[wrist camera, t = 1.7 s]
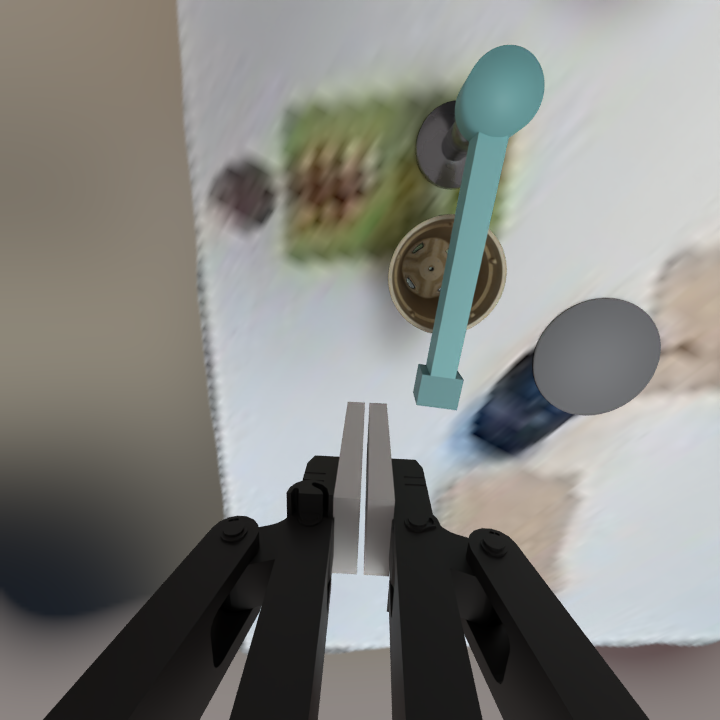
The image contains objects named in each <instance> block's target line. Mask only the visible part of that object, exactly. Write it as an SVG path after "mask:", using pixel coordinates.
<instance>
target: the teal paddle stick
mask: <svg viewBox="0 0 720 720" xmlns="http://www.w3.org/2000/svg"><path fill="white" fill-rule="evenodd" d="M543 94H544V75H543V71H542V68H541V66H540V63H539V62H538V60H537V59H536V57H535V56H534V55H533V54H532V53H531V52H530V51H528V50H526V49H525V48H523V47H520V46H516V45H503V46H499V47H497V48H494V49H492V50H491V51H489V52H487V53H486V54H485V55H484V56H483V57H481V58H480V59H479V61H478V62H477V63H476V65H475V66H474V68H473V69H472V71H471V73H470V74H469V76H468V78H467V79H466V81H465V83H464V84H463V86H462V88H461V90H460V92H459V94H458V96H457V99H456V104H455V120H456V124H457V127H458V129H459V131H460V133H461V134H462V136H463V137H464V138H465V139H466V140H467V141H469V146H468V151H467V156H466V161H465V167H464V172H463V177H462V182H461V187H460V192H459V198H458V203H457V208H456V213H455V218H454V223H453V229H452V234H451V239H450V244H449V249H448V254H447V260H446V265H445V270H444V275H443V280H442V285H441V291H440V296H439V301H438V306H437V311H436V317H435V322H434V327H433V332H432V337H431V342H430V348H429V353H428V358H427V363H426V365H422V364H418V369H417V375H416V380H415V385H414V391H413V393H414V397H415V401H416V405H421V406H429V407H436V408H444V409H451V410H457V407H458V402H459V398H460V394H461V389H462V385H463V381H464V380H463V378H462V377H461V375H460V374H459V372H458V371H457V369H458V365H459V360H460V356H461V351H462V347H463V342H464V338H465V333H466V329H467V324H468V320H469V315H470V310H471V306H472V301H473V297H474V292H475V288H476V283H477V279H478V274H479V270H480V265H481V261H482V256H483V252H484V247H485V243H486V238H487V234H488V229H489V224H490V220H491V215H492V211H493V206H494V202H495V197H496V193H497V188H498V184H499V179H500V175H501V170H502V166H503V161H504V157H505V152H506V148H507V143H508V139H509V137H511V136H512V135H514V134H515V133H516V132H518V131H519V130H520V129H522V128H523V127H524V126H526V125H527V124H528V123H529V122H530V121H531V120H532V118H533V117H534V116H535V114H536V113H537V111H538V109H539V107H540V105H541V102H542V99H543Z"/></svg>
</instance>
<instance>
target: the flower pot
mask: <svg viewBox="0 0 720 720" xmlns="http://www.w3.org/2000/svg"><path fill="white" fill-rule="evenodd" d="M454 218H455V214H447V215H439V216H436V217H433V218H430V219H428V220H425V221H423V222H422V223H420V224H418V225H417V226H415V227H414V228H413V229H411V230H410V231H409V232H408V233H407V234H406V235H405V236H404V237H403V239H402V240H401V241H400V243H399V244H398V246H397V247H396V249H395V251H394V253H393V256H392V259H391V262H390V266H389V273H388V285H389V291H390V295H391V298H392V300H393V302H394V304H395V306H396V308H397V310H398V311H399V312H400V314H401V315H402V316H403V317H404V318H405V319H406V320H407V321H408V322H409V323H411V324H412V325H413V326H415V327H417V328H419V329H421V330H423V331H425V332H429V333H432V332H433V327H434V322H435V317H436V311H437V306H438V301H439V296H440V291H438V289H440V288H441V285H442V280H443V275H444V270H445V265H446V260H447V252H446V251H447V250H448V249H449V244H450V239H451V234H452V229H453V223H454ZM421 243H423V244H424V247H423V248H422V249H419V250H418V251H417V252H416V253H413V251H414V249H415V248H416V247H417V246H418V245H420V244H421ZM430 267H433V268H434V269H433V271H430V270H429V268H430ZM506 274H507V267H506V259H505V254H504V252H503V248H502V246H501V244H500V242H499V241H498V239H497V238H496V236H495V235H494V234H493V232H492V231H491V230H490V229H488V234H487V238H486V243H485V247H484V252H483V256H482V261H481V265H480V270H479V274H478V279H477V283H476V288H475V292H474V297H473V301H472V306H471V310H470V315H469V320H468V324H467V329H470V328H472V327H474V326H475V325H477V324H479V323H480V322H481V321H482V320H483V319H484V318H486V317H487V316H488V315H489V314H490V313H491V311H492V310H493V309H494V307H495V306H496V305H497V303H498V301H499V299H500V297H501V295H502V292H503V290H504V286H505V281H506ZM407 278H410V280H411V282H412V283H413V284H414V286H415V288H414V289H412V288H411V287H410V286H409V285H408V283H407ZM467 329H466V330H467Z"/></svg>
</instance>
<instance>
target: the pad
mask: <svg viewBox="0 0 720 720" xmlns="http://www.w3.org/2000/svg"><path fill="white" fill-rule="evenodd" d="M660 350H661V344H660V336H659V333H658V330H657V327H656V325H655V323H654V322H653V320H652V319H651V317H650V316H649V315H648V314H647V313H646V312H645V311H643V310H642V309H641V308H639V307H638V306H636V305H634V304H632V303H629V302H626V301H623V300H618V299H610V298H602V299H594V300H589V301H585V302H582V303H580V304H577V305H575V306H573V307H571V308H569V309H568V310H566V311H564V312H563V313H562V314H560V315H559V316H558V317H557V318H555V319H554V320H553V321H552V322H551V323H550V325H549V326H548V327H547V328H546V329H545V331H544V332H543V334H542V335H541V337H540V339H539V341H538V343H537V346H536V349H535V352H534V357H533V375H534V380H535V382H536V385H537V387H538V389H539V391H540V392H541V394H542V395H543V396H544V397H545V399H547V400H548V401H549V402H550V403H551V404H552V405H554V406H555V407H557V408H558V409H560V410H562V411H565V412H568V413H571V414H576V415H597V414H602V413H606V412H610V411H612V410H615V409H617V408H619V407H621V406H623V405H625V404H626V403H628V402H629V401H631V400H632V399H633V398H635V397H636V396H637V395H638V394H639V393H640V392H641V391H642V390H643V389H644V388H645V387H646V385H647V384H648V383H649V381H650V380H651V378H652V376H653V375H654V373H655V370H656V368H657V365H658V362H659V358H660Z"/></svg>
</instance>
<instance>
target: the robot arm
mask: <svg viewBox="0 0 720 720" xmlns="http://www.w3.org/2000/svg"><path fill="white" fill-rule="evenodd" d="M364 410H365V403H361V402H348V404H347V411H346V417H345V424H344V431H343V438H342V444H341V451H340V457H333V456H314V457H313V458H312V459H311V460H310V461H309V462H308V463H307V466H306V470H305V474H304V477H303V481H301V482H298V483H295V484H294V485H293V486H291V487H290V488H289V490H288V491H287V518H286V519H285V520H283V521H281V522H279V523H276V524H272V525H268V526H263V527H258V524H257V523H256V522H255V520H254V519H251V518H249V517H247V516H234V517H229V518H226V519H224V520H222V521H220V522H219V523H217V524H216V525H215V526H214V527H213V528H212V529H211V530H210V531H209V532H208V533H207V534H206V535H205V537H204V538H203V539H202V540H201V541H200V542H199V543H198V545H197V546H196V547H195V548H194V549H193V550H192V551H191V552H190V554H189V555H188V556H187V557H186V558H185V559H184V560H183V562H182V563H181V564H180V565H179V566H178V567H177V568H176V569H175V571H174V572H173V573H172V574H171V575H170V577H168V579H167V580H166V581H165V582H164V583H163V584H162V585H161V587H160V588H159V589H158V590H157V591H156V592H155V593H154V594H153V596H152V597H151V598H150V599H149V600H148V601H147V602H146V604H145V605H144V606H143V607H142V608H141V609H140V610H139V612H138V613H137V614H136V615H135V616H134V617H133V618H132V619H131V620H130V622H129V623H128V624H127V625H126V626H125V627H124V629H123V630H122V631H121V632H120V633H119V634H118V635H117V636H116V638H115V639H114V640H113V641H112V642H111V643H110V644H109V645H108V647H107V648H106V649H105V650H104V651H103V652H102V653H101V655H100V656H99V657H98V658H97V659H96V660H95V661H94V663H93V664H92V665H91V666H90V667H89V668H88V669H87V670H86V672H85V673H84V674H83V675H82V676H81V677H80V678H79V679H78V681H77V682H76V683H75V684H74V685H73V686H72V688H71V689H70V690H69V691H68V692H67V693H66V694H65V695H64V696H63V698H62V699H61V700H60V701H59V702H58V703H57V704H56V706H55V707H54V708H53V709H52V710H51V711H50V712H49V713H48V715H47V716H46V717H45V718H44V719H43V720H200V718H201V716H202V715H203V713H204V711H205V709H206V707H207V705H208V704H209V701H210V700H211V698H212V696H213V695H214V693H215V691H216V689H217V687H218V686H219V684H220V682H221V680H222V678H223V677H224V675H225V673H226V671H227V669H228V667H229V666H230V664H231V662H232V660H233V659H234V657H235V655H236V653H237V651H238V650H239V648H240V646H241V644H242V642H243V641H244V639H245V637H246V635H247V633H248V632H249V630H250V628H251V626H252V624H253V623H254V621H255V619H256V617H257V615H258V613H259V612H260V614H259V617H258V621H257V624H256V628H255V631H254V635H253V638H252V642H251V646H250V649H249V653H248V656H247V660H246V663H245V667H244V670H243V674H242V677H241V681H240V684H239V688H238V691H237V695H236V698H235V702H234V706H233V709H232V712H231V716H230V719H229V720H318V711H319V701H320V692H321V682H322V673H323V662H324V653H325V643H326V633H327V623H328V613H329V603H330V594H331V574H332V573H342V574H357V558H358V538H359V518H360V498H361V476H362V454H363V432H364ZM389 573H390V580H389V592H388V604H387V612H389V625H390V655H391V656H390V658H391V690H392V691H391V692H392V720H482V715H481V711H480V706H479V701H478V697H477V692H476V687H475V683H474V678H473V673H472V669H471V664H470V660H469V655H468V650H467V646H466V641H465V637H466V639H467V641H468V643H469V645H470V648H471V650H472V652H473V654H474V656H475V658H476V661H477V663H478V665H479V667H480V669H481V672H482V674H483V676H484V678H485V680H486V683H487V685H488V687H489V689H490V691H491V693H492V696H493V698H494V700H495V702H496V704H497V707H498V709H499V711H500V713H501V715H502V717H503V719H504V720H649V719H648V717H647V716H646V714H645V713H644V712H643V711H642V709H641V708H640V707H639V705H638V704H637V703H636V701H635V700H634V699H633V697H632V696H631V695H630V694H629V692H628V691H627V689H626V688H625V687H624V685H623V684H622V683H621V682H620V680H619V679H618V678H617V676H616V675H615V674H614V672H613V671H612V670H611V668H610V667H609V666H608V664H607V663H606V662H605V661H604V659H603V658H602V656H601V655H600V654H599V653H598V651H597V650H596V649H595V647H594V646H593V645H592V643H591V642H590V641H589V639H588V638H587V637H586V635H585V634H584V633H583V631H582V630H581V629H580V627H579V626H578V625H577V623H576V622H575V621H574V620H573V618H572V617H571V616H570V614H569V613H568V612H567V610H566V609H565V608H564V606H563V605H562V604H561V602H560V601H559V600H558V598H557V597H556V596H555V594H554V593H553V592H552V591H551V589H550V588H549V587H548V585H547V584H546V583H545V581H544V580H543V579H542V577H541V576H540V575H539V573H538V572H537V571H536V569H535V568H534V567H533V565H532V564H531V563H530V562H529V560H528V559H527V558H526V556H525V555H524V554H523V552H522V551H521V550H520V548H519V547H518V546H517V544H516V543H515V542H514V541H513V540H512V539H511V538H510V537H509V536H507V535H505V534H503V533H502V532H500V531H497V530H493V529H486V528H481V529H478V530H474V531H473V532H472V533H471V534H470V535H469V538H467V537H463V536H460V535H457V534H454V533H452V532H449V531H447V530H446V529H444V528H443V527H441V526H440V523H439V521H438V519H437V518H436V517H435V516H434V515H433V513H432V508H431V504H430V499H429V495H428V490H427V487H426V481H425V476H424V472H423V468H422V467H421V466H420V465H419V463H418V462H417V461H416V460H408V459H391V449H390V437H389V425H388V414H387V404H381V403H370V405H369V424H368V443H367V466H366V506H365V545H364V575H376V576H389ZM261 606H262V607H261ZM260 609H261V610H260ZM464 635H465V637H464Z"/></svg>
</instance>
